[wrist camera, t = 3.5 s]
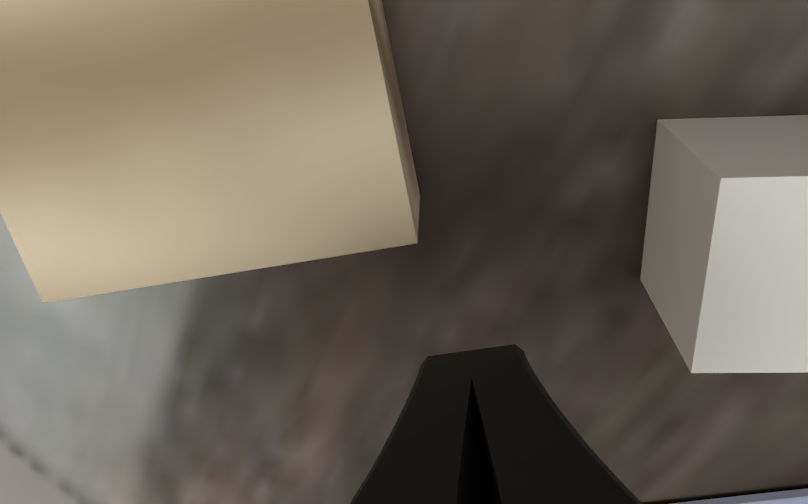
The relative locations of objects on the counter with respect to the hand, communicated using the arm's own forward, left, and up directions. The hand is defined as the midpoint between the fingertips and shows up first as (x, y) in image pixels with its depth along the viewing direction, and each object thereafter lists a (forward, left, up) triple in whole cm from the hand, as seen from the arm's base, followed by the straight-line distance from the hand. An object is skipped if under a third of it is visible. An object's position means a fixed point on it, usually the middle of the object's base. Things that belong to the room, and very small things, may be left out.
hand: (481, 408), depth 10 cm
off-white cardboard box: (-1, -5, -7) cm, 8 cm away
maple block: (+5, +6, -9) cm, 12 cm away
